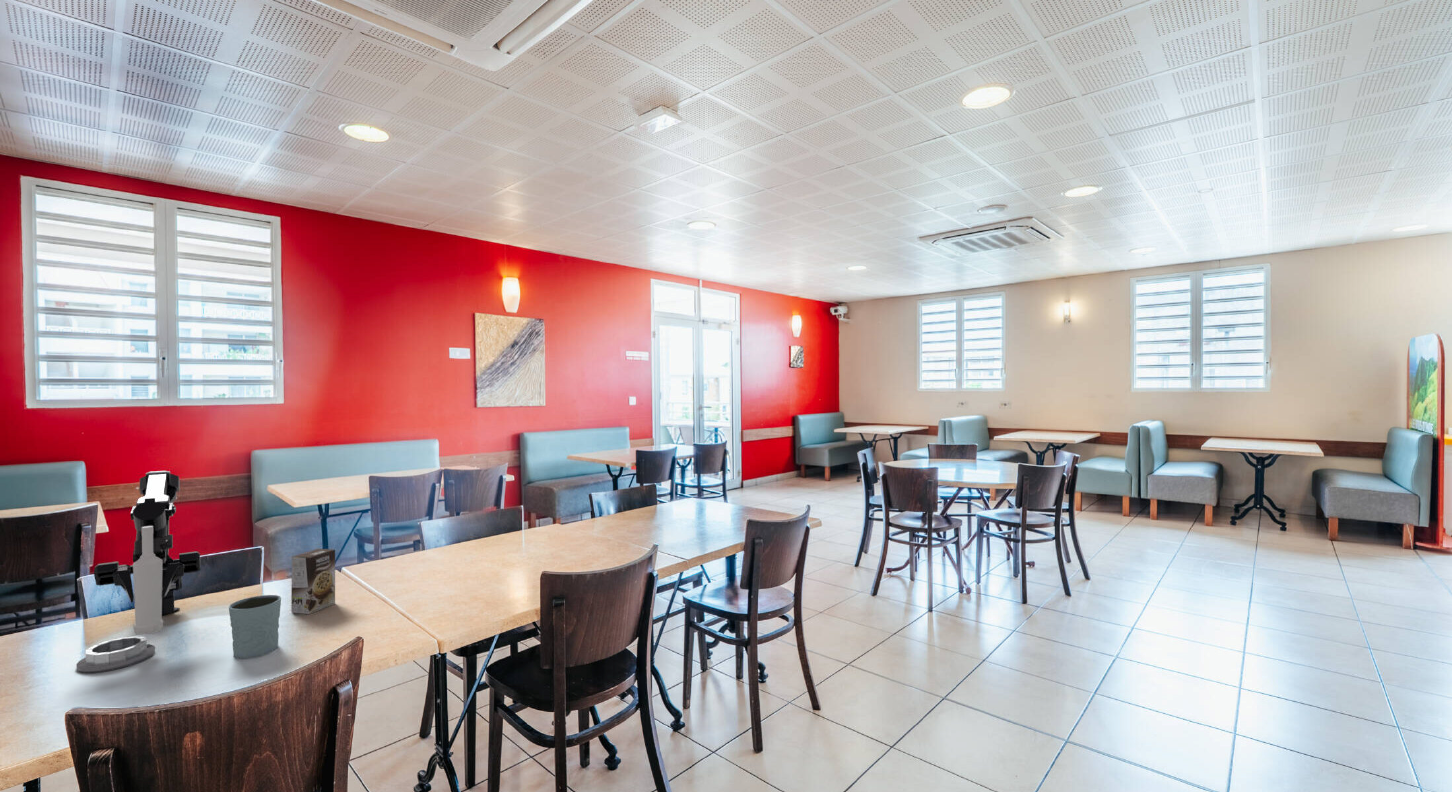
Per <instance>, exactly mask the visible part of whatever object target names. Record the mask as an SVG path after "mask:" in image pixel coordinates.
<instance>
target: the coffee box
mask: <svg viewBox="0 0 1452 792" xmlns="http://www.w3.org/2000/svg"><path fill="white" fill-rule="evenodd" d="M335 604H336V549H332V548H331V549H330V548H316V549H313V550H310V551H306V552H302V553H300V554H296V555H292V556H291V605H290V606H291V607H290V608H291V609H290V610H291V613H294V614H301V615H302V614H303V615H310V614H313V613H316V612H318V611H321V610H323V609H325V608H328V607H329V606H332V605H335Z"/></svg>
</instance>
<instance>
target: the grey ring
mask: <svg viewBox="0 0 1452 792" xmlns="http://www.w3.org/2000/svg"><path fill="white" fill-rule="evenodd" d="M155 653H156V647H155V645H153V644H150V643H148V640H147V637H146V636H139V635H136V636H124V637H119V638H115V639H114V638H113V639H108V640H106V641H103V642H100V643H96V644H94V645H92V646H91V647H89V648H86V649H85V657H83V658H81V659H80V660H78V661H77V663H76V665H75V666H76V667H75V668H76V671H77V672H78V673H82V674H96V673H97V674H98V673H104V672H105V673H107V672H111V671H115V670H116V671H117V670H120V669H121V670H122V669H124V668H127V667H131V666H135V665H137V664H139V663H142V662H144V661H147V660H148V659H150V658H152V657H153V656H154V655H156V654H155Z"/></svg>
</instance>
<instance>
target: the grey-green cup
mask: <svg viewBox="0 0 1452 792" xmlns="http://www.w3.org/2000/svg"><path fill="white" fill-rule="evenodd" d="M281 605H282V597H281V596H280V595H277V594H264V595H257V596H251V597H246V598H242V599H240V600H237V601H234V602H233V603H231V604H229V605H228V611H229V613H228V614H229V617H230V618H229V621H230V628H231V637H232V643H231V644H232V652H233V654H232V655H233V657H234V658H237V659H253V658H258V657H263V656H265V655H267V654H268V655H269V654H270V653H272V652H273V651H275V650H276V649H278V646H279V639H280V638H279V636H280V635H279V628H280V623H279V622H280V621H279V619H280V616H281V607H282V606H281Z"/></svg>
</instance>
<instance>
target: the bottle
mask: <svg viewBox="0 0 1452 792" xmlns="http://www.w3.org/2000/svg"><path fill="white" fill-rule="evenodd" d="M162 563H163V560H162V559H160V558H158V557H156V556H155V554H154V553H153V526H145V527H142V555H141V556H140V559H138V560H137V561H136V562H135V563H134V562H133V563H132V565H133V577H132V578H133V595H134V601H133V602H134V618H135V619H134V621H135V622H134V623H135V624H134V625H133V631H134V634H135V635H136V636H139V635H148V634H154V633H157V632H159V631H161V630H162V629H163V627H164V619H163V617H162Z"/></svg>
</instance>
